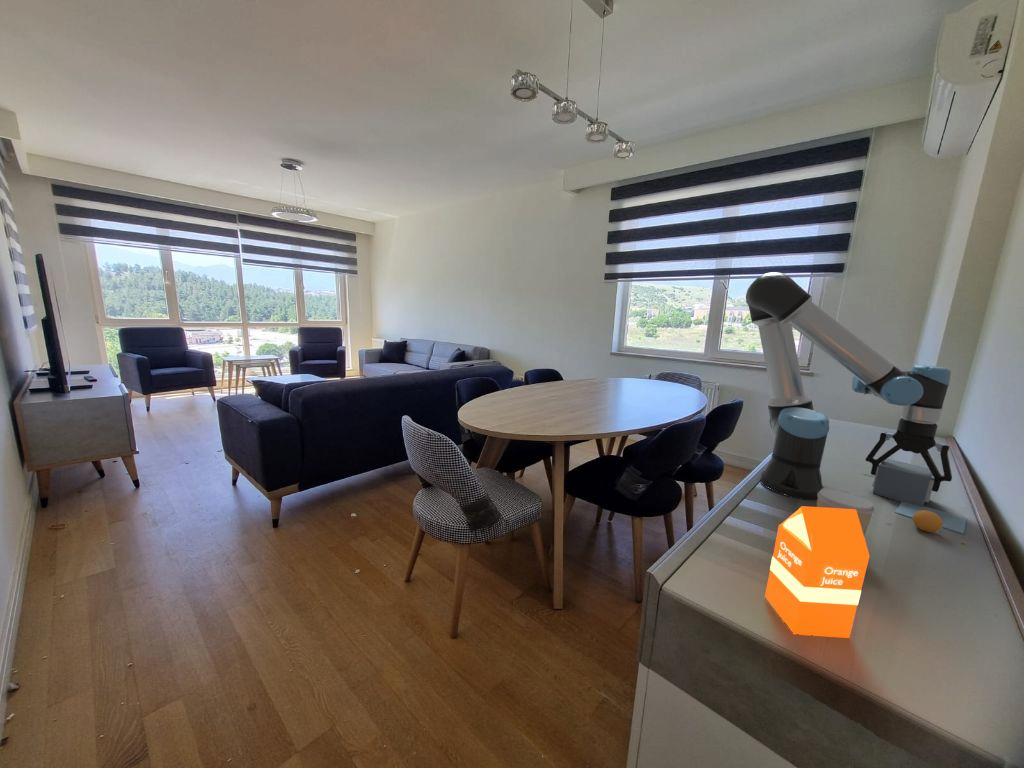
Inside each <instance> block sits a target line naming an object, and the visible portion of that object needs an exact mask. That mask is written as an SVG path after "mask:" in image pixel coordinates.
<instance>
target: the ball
mask: <svg viewBox="0 0 1024 768" xmlns="http://www.w3.org/2000/svg"><path fill="white" fill-rule="evenodd" d="M912 522H913V524H914V526H916V528H918V529H919V530H921V531H924V532H928V533H935V532H939V531H940V530H941V529H942V526H943V522H942V519H941V518H940V517H939V516H938V515H937V514H935V513H933V512H931V511H927V510H921V511H918V512H916V513H915V514H914V515H913V518H912Z"/></svg>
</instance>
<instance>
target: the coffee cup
mask: <svg viewBox="0 0 1024 768" xmlns="http://www.w3.org/2000/svg"><path fill="white" fill-rule="evenodd" d="M817 496H818V499H816V501H817V502H816V507H823V508H841V509H856V511H857V515H858V518H859V522H860V525H861V528H862V532H863V535H864V537H865V536H866V534H867V532H868V531H867V530H868V528H869V524H870V522H871V518H872V515H873V514H874V512H875V506H874V503H873V502H871V501H870V500H869V499H867V498H865V497H863V496H862V495H859V494H857V493H854V492H851V491H847V490H843V489H837V488H831V487H829V488H828V487H827V488H824V489H821V490H820V492H818V495H817Z"/></svg>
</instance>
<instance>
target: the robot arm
mask: <svg viewBox="0 0 1024 768" xmlns="http://www.w3.org/2000/svg"><path fill="white" fill-rule="evenodd" d="M745 301H746V303H747V307H748V310H749V314H750V319H751V320H750V321H751V324H754V325H756V326H757V328H758V332H759V338H760V342H761V348H762V353H763V358H764V364H765V368H766V373H767V379H768V383H769V390H770V394H771V399H770V400H769V401H768V402H767V408H768V413H769V426H770V428H771V430H772V432H773V433H774V443H773V447H772V452H771V453H772V454H771V458H770V459H769V461H768V463H767V465H766V467H765V468H764V470H763V471H762V472H761V473H760V474H761V475H760V480H761V481H760V483H761V482H762V483H763V484H764V485H765V486H767V487H769V488H771V489H773V490H775V491H777V492H779V493H778V494H780V493H782V494H781V495H783V494H786V495H788V497H790V496H792V497H791V498H794V497H795V499H799V498H802V500H807V499H808V500H812V501H813V500H816V501H817V500H818V496H817V495H818V492H820V490H821V489H825V488H824V486H823V481H822V474H821V465H822V461H823V456H824V452H825V451H824V450H825V447H826V442H827V439H828V438H827V437H828V433H829V431H830V419H829V417H828V416H826V415H825V414H824V413H822V412H818V411H816V410H814V405H813V399H812V398H811V397H809V396H808V395H806V394H805V390H804V385H803V378H802V373H801V369H800V364H799V357H798V352H797V347H796V342H795V338H794V337H795V336H794V332H793V329H795V330H796V331H797V332H799V333H800V334H801V335H803V337H805V338H806V339H807V340H808V341H809V342H811V343H812V344H814V345H815V346H816V347H817V348H819V349H820V350H821V351H822V352H824V353H825V354H826V355H828V357H830V358H831V359H833V360H834V361H835V362H836V363H837V364H839V365H840V366H841V367H842V368H844V369H845V370H846V371H847V372H849V373H850V374H851V375H852V379H851V389H852V390H853V391H854V392H855V393H858V394H864V395H874V396H875V397H877V398H879V399H881V400H883V401H885V402H886V403H888V404H890V405H895V406H901V407H902V408H901V412H900V417H901V418H899V421H898V424H897V427H896V428H897V429H896V432H895V433H890V432H887V431H883V432H881V433H880V435H879V440H878V441H877V443H876V444H875V445H874V447H873V448H872V449H871V451H870V452H869V454H868V455H867V456H866V457H865V462H868V463H871V470H870V474H871V475H872V476H874V477H873V478H874V479H873V483H872V487H873V488H874V486H875V481H876V477H877V473H878V469H879V465H880V464H881V463H882V462H883V461H884V460H885V459H889V458H890V457H892V455H894V454H895V453H897V452H898V451H900V450H902V451H904V452H911V453H914V454H920V455H921V457H922V459H923V460H924V462H925V464H926V465H927V468H929V469H930V471H931V473H932V475H933V476H932V478H931V480H930V483H929V487H928V491H927V494H926V498H925V503H929V502H930V500H931V495H932V492H935V493H937V492H939V490H940V486H941V483H942V482H952V480H953V474H952V470H951V469H952V468H951V464H950V459H949V454H948V452H949V450H950V445H949V444H948V443H939V442H936V439H935V437H936V434H937V429H938V424H937V423H939V421H940V418H941V415H942V410H943V405H944V402H945V399H946V396H947V391H948V389H949V386H950V381H951V374H952V373H951V370H950V369H949V368H946V367H941V366H934V365H921V364H915V365H913V366H912V367H911V369H910V371H909V370H908V371H907V370H906V371H902V370H901V369H900V368H898V367H896V366H895V365H894V364H893V363H892V362H891V361H889V360H888V359H886V358H885V357H884V356H882V355H881V354H880V353H878V351H876V350H875V349H873V348H872V347H871V346H870V345H868V343H865V342H864V340H862V339H860V338H859V337H858V336H857V335H855V334H854V333H853V332H852V331H851V330H849V329H848V328H847V327H845V326H844V325H842V324H841V323H840V322H839V321H837V320H836V319H835V318H833V317H832V316H830V315H829V314H828V313H827V312H825V311H824V310H823V309H822V308H820V307H819V306H817V304H815V303H814V302H813V296H812V295H810V293H808V292H807V291H806V290H805V289H803V288H802V287H801V286H800V285H799V284H798V283H797V282H796V281H795V280H793V278H792V277H790V276H789V275H788V274H785V273H782V272H778V271H773V272H767V273H764V274H762V275H760V276H758V277H757V278H756V279H755V280H754V281H753V282H752V283H751V284H750V285H749V287H748V288H747V291H746V293H745ZM890 439H893V440H894V441H895V443H896V445H894V446H893V447H892V448H890V449H889V450H887V451H886V452H884V453H883V454H882V455H880V456H879V457H878V458H877V459H876V458H874V457H875V456H876V455H877V453H878V452H879V451H880V449H881V448H882V446H883V445H885V443H886V442H887V441H889V440H890ZM933 447H935V448H936V450H937V451H938V452H939V453H940V460H941V465H942V471H943V474H941V472H940V471H939V469H938V467H937V465H936V463H935V461H934V460H933V458H932V456H931V454H930V451H929V450H930V449H932V448H933ZM762 483H761V484H762ZM763 484H762V485H763ZM764 485H763V486H764ZM765 486H764V487H765ZM767 487H766V488H767ZM769 488H768V489H769ZM771 489H770V490H771ZM773 490H772V491H773ZM775 491H774V492H775ZM777 492H776V493H777ZM786 495H785V496H786Z"/></svg>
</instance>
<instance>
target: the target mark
mask: <svg viewBox="0 0 1024 768" xmlns="http://www.w3.org/2000/svg"><path fill="white" fill-rule="evenodd" d="M921 510H927V511H931V512H933V513H935V514H937V515H938V516H939V517H940V518H941V519H942V522H943V526H942V528H943V529H945V530H948V531H952V532H955V533H958V534H962V535H964V534H965V529H966V524H967V518H965V517H962V516H958V515H955V514H952V513H948V512H945V511H941V510H937V509H934V508H931V507H928V506H924V505H923V507H920V506H917V505H913V504H910V503H907V502H903V501H902V502H901V501H900V503H899V505H898V507H897V508H896V510H895V512H894V513H895V514H898V515H901V516H904V517H908V518H911V519H913V515H914V514H915V513H916V512H918V511H921ZM942 528H941V529H942Z"/></svg>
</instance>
